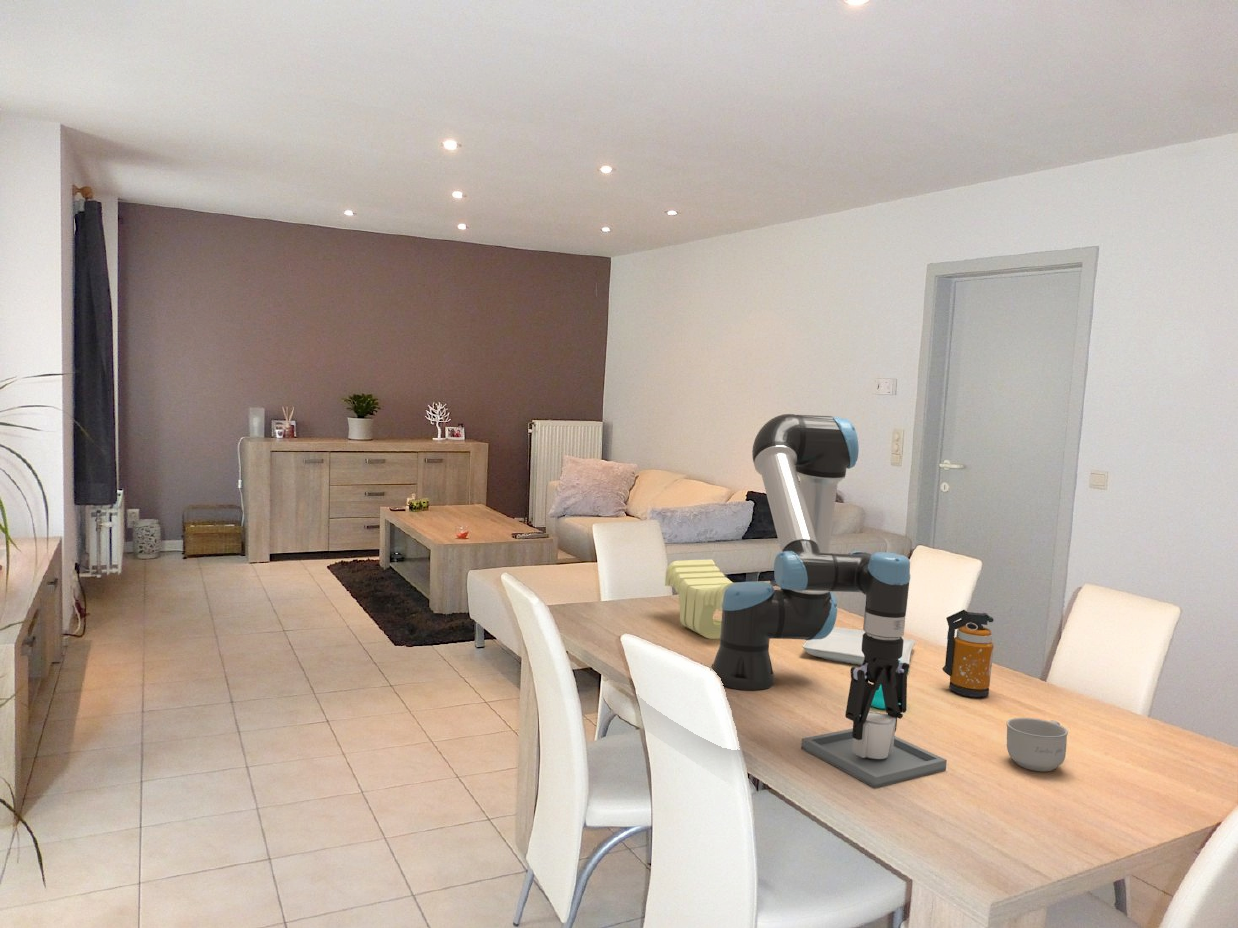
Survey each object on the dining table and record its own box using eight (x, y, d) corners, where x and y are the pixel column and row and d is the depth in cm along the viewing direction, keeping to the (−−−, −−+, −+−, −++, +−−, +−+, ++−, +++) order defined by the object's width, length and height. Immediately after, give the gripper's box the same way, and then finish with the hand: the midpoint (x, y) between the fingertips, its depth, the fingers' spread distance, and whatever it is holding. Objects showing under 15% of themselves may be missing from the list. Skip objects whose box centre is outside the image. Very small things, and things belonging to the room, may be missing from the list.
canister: (992, 701, 213) (1000, 618, 211) (942, 695, 215) (950, 612, 213) (984, 689, 221) (992, 609, 220) (937, 683, 224) (944, 604, 222)
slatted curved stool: (662, 619, 269) (666, 560, 267) (708, 616, 276) (712, 559, 274) (716, 648, 242) (721, 583, 241) (765, 644, 249) (770, 580, 248)
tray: (801, 748, 176) (802, 738, 176) (869, 734, 186) (870, 724, 186) (874, 788, 160) (876, 777, 160) (945, 770, 170) (946, 760, 170)
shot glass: (892, 750, 175) (895, 715, 175) (890, 763, 169) (893, 726, 168) (855, 743, 178) (858, 708, 177) (852, 756, 171) (856, 720, 171)
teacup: (1038, 780, 168) (1043, 739, 168) (990, 757, 178) (994, 718, 177) (1086, 770, 175) (1091, 730, 174) (1038, 748, 184) (1042, 710, 184)
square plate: (800, 659, 238) (801, 645, 238) (817, 635, 263) (818, 622, 263) (907, 678, 228) (908, 662, 228) (914, 651, 253) (916, 637, 253)
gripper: (861, 645, 163) (850, 768, 165) (934, 635, 173) (923, 751, 175) (831, 634, 169) (821, 752, 171) (903, 625, 180) (893, 737, 182)
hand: (872, 751), depth 173 cm, fingers closed on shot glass, 7 cm apart
